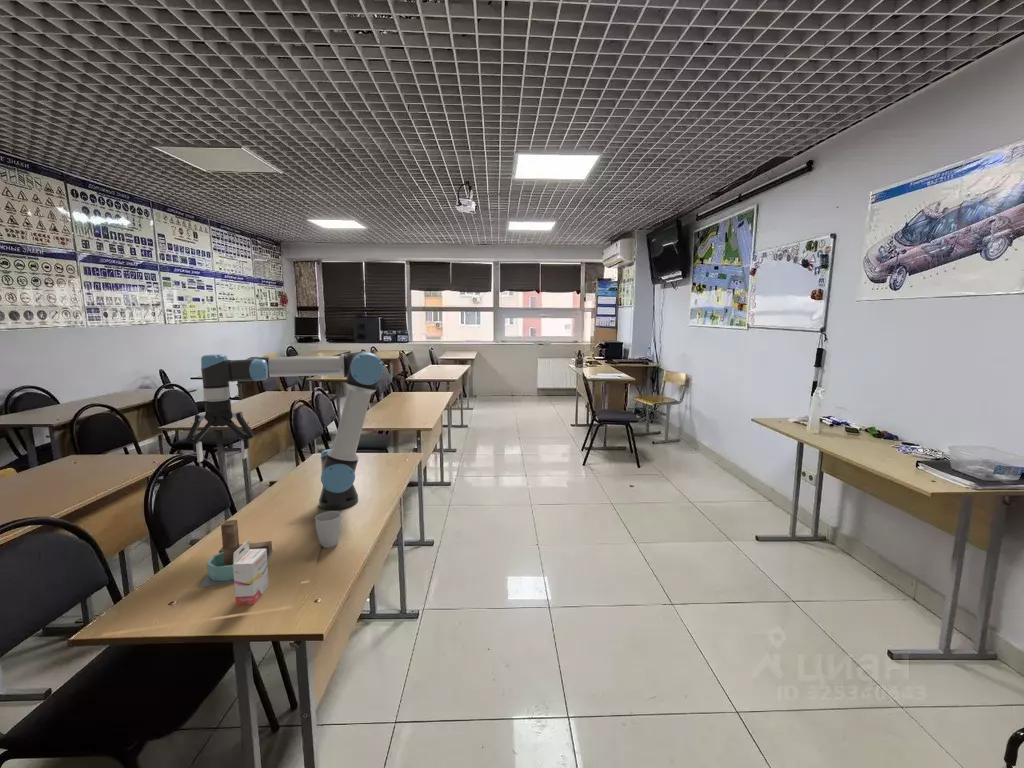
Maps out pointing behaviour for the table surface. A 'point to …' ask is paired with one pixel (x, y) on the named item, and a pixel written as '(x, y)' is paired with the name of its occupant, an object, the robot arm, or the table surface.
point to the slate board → (210, 582)
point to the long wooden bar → (258, 546)
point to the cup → (328, 528)
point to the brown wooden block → (229, 540)
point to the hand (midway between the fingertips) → (222, 459)
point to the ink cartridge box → (249, 574)
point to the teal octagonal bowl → (220, 568)
